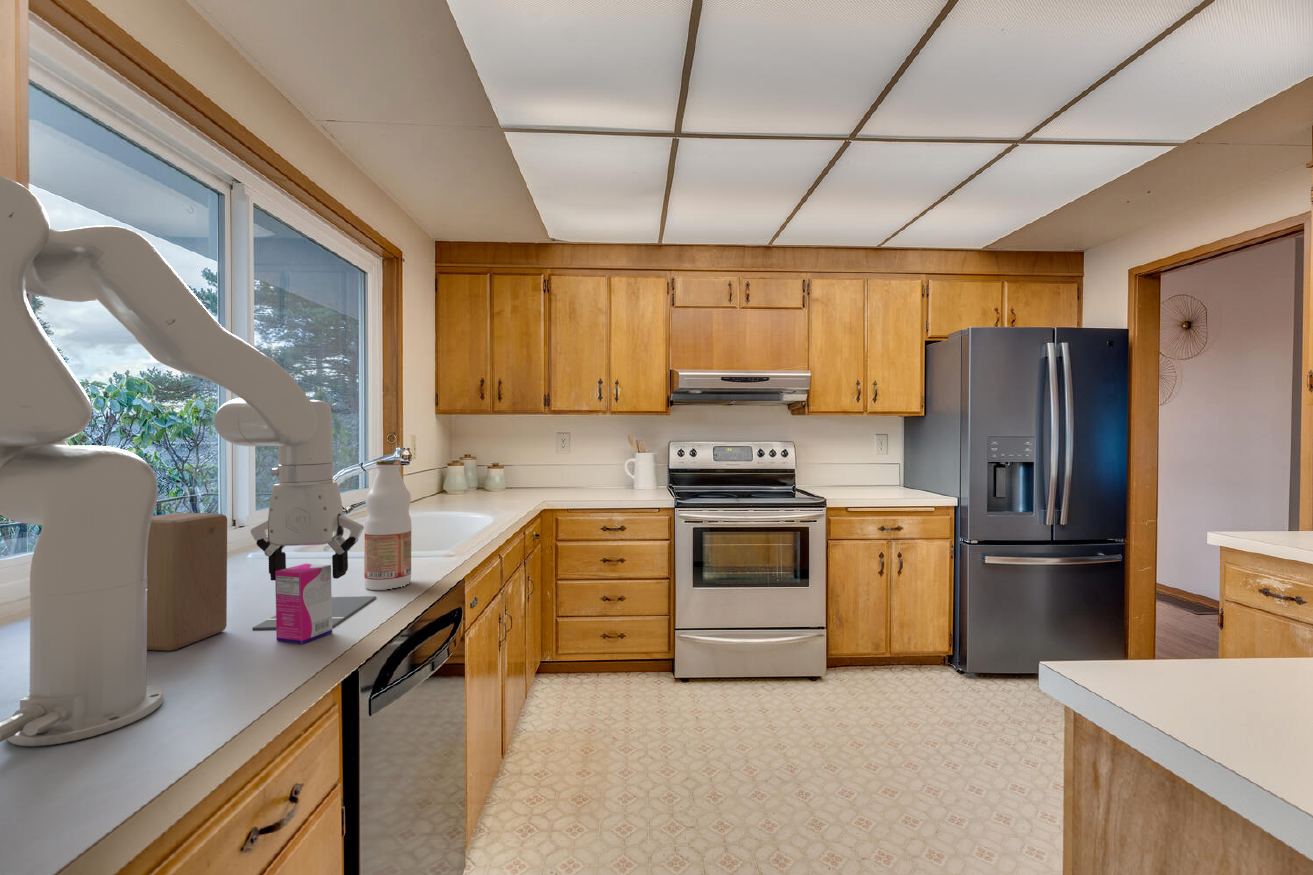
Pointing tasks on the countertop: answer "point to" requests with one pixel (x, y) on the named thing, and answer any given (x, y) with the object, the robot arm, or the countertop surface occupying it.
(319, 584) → the supplement box
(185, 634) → the wooden block
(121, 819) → the countertop surface
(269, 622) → the mat
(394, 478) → the fruit juice
